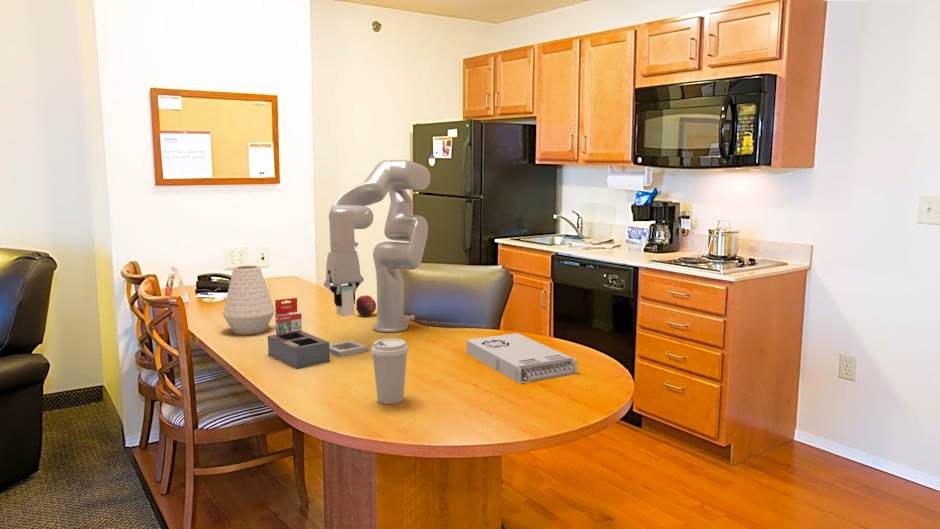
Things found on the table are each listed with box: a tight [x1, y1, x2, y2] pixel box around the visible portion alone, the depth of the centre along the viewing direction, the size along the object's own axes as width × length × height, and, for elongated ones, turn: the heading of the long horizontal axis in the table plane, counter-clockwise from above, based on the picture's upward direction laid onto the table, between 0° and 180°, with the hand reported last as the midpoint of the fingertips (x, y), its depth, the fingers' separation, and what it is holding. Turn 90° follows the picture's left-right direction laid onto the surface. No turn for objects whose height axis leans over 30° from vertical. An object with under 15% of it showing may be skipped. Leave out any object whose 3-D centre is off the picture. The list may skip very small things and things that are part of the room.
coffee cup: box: [370, 338, 410, 405], centre depth 167 cm, size 10×10×15 cm
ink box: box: [274, 297, 303, 335], centre depth 221 cm, size 4×8×15 cm, turn 123°
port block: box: [267, 330, 331, 370], centre depth 204 cm, size 11×19×6 cm, turn 41°
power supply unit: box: [466, 332, 578, 385], centre depth 199 cm, size 19×33×5 cm, turn 27°
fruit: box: [355, 294, 377, 317], centre depth 259 cm, size 8×8×8 cm
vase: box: [222, 264, 276, 336], centre depth 234 cm, size 18×17×23 cm
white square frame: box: [329, 339, 368, 358], centre depth 212 cm, size 10×10×2 cm
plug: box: [335, 284, 355, 317], centre depth 210 cm, size 4×4×9 cm
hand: (345, 304), depth 210 cm, fingers closed on plug, 4 cm apart
